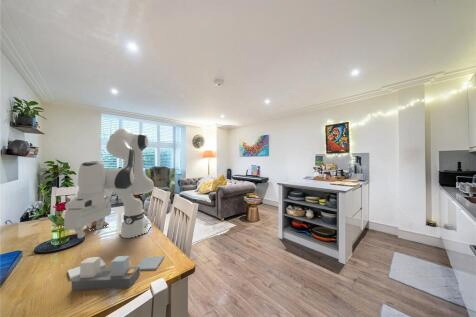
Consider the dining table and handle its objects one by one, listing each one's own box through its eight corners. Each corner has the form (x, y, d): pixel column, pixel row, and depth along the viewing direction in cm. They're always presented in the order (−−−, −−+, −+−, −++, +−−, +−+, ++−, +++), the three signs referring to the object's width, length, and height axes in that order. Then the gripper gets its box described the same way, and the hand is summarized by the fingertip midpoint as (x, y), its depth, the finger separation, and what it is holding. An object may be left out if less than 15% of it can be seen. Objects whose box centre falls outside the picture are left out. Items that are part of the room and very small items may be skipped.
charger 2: (117, 270, 74) (117, 256, 74) (129, 269, 74) (129, 255, 74) (110, 276, 70) (111, 261, 70) (123, 275, 70) (123, 261, 70)
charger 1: (88, 276, 73) (88, 257, 73) (100, 275, 73) (100, 257, 74) (80, 282, 69) (80, 262, 69) (92, 282, 70) (93, 262, 70)
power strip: (88, 277, 75) (88, 267, 75) (139, 274, 76) (139, 265, 77) (71, 290, 67) (71, 279, 67) (129, 287, 68) (129, 277, 69)
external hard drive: (67, 273, 78) (101, 261, 88) (69, 281, 73) (105, 267, 83) (67, 270, 78) (101, 258, 88) (70, 277, 73) (105, 264, 83)
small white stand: (90, 231, 125) (90, 183, 126) (86, 228, 132) (87, 182, 133) (108, 226, 135) (109, 182, 135) (104, 223, 141) (104, 181, 142)
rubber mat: (144, 258, 89) (144, 257, 89) (163, 257, 90) (163, 256, 90) (134, 270, 79) (134, 269, 79) (156, 269, 80) (156, 268, 80)
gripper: (101, 195, 82) (101, 224, 82) (60, 205, 62) (59, 244, 61) (115, 194, 83) (114, 223, 82) (78, 205, 62) (78, 243, 62)
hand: (90, 232), depth 72 cm, fingers open, 8 cm apart
